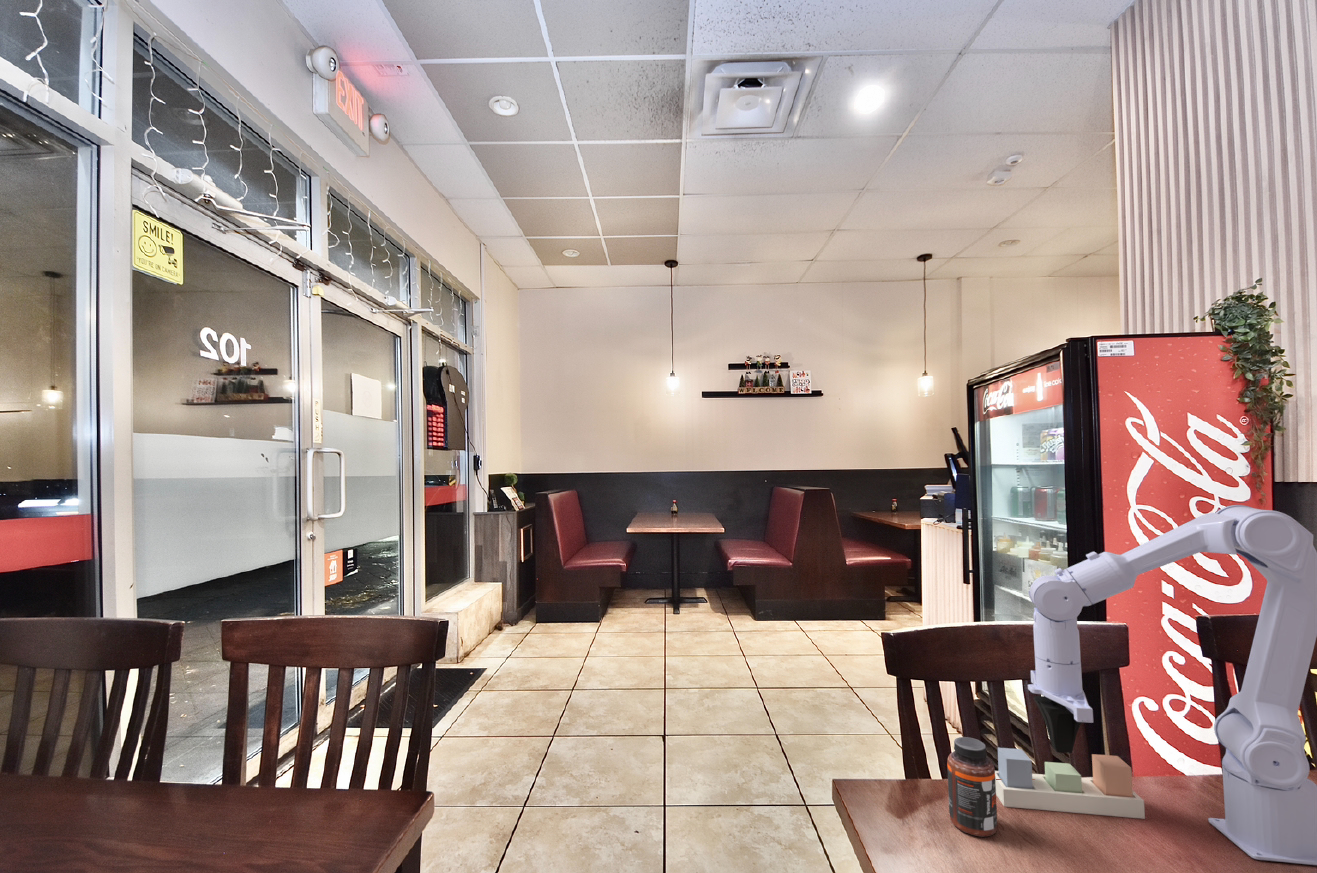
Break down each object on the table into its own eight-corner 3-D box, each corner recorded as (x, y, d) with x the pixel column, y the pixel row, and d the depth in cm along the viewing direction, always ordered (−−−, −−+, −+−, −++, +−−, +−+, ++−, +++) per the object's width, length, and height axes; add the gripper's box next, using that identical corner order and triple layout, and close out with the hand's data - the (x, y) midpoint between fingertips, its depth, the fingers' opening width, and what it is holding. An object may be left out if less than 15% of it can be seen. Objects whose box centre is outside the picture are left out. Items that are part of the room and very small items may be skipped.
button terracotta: (1119, 786, 86) (1117, 756, 86) (1133, 800, 83) (1131, 767, 83) (1093, 784, 87) (1091, 754, 87) (1106, 797, 83) (1104, 766, 84)
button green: (1070, 794, 87) (1069, 763, 87) (1082, 807, 84) (1081, 775, 84) (1045, 791, 88) (1044, 761, 88) (1056, 805, 85) (1055, 773, 85)
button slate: (1023, 779, 89) (1021, 749, 89) (1032, 791, 85) (1031, 760, 85) (998, 777, 89) (997, 747, 89) (1007, 789, 86) (1006, 758, 86)
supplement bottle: (1004, 841, 77) (1001, 755, 78) (956, 836, 79) (953, 751, 79) (988, 814, 83) (985, 734, 84) (944, 810, 84) (941, 731, 85)
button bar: (1122, 797, 87) (1122, 780, 87) (1144, 818, 82) (1144, 800, 82) (990, 786, 90) (990, 770, 90) (1004, 806, 85) (1003, 789, 85)
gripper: (1008, 642, 95) (1012, 726, 94) (1050, 674, 80) (1056, 774, 80) (1056, 643, 93) (1061, 729, 93) (1107, 677, 79) (1113, 778, 79)
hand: (1062, 750), depth 86 cm, fingers closed
